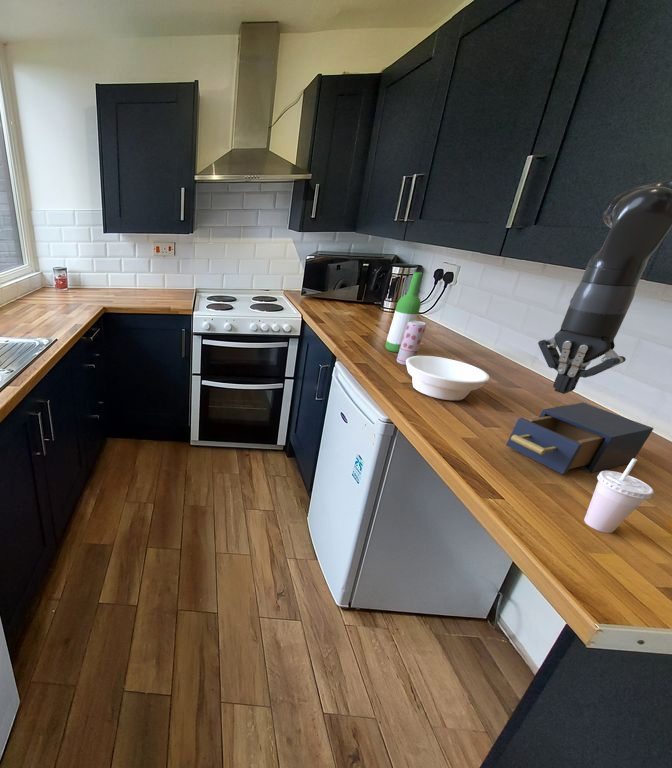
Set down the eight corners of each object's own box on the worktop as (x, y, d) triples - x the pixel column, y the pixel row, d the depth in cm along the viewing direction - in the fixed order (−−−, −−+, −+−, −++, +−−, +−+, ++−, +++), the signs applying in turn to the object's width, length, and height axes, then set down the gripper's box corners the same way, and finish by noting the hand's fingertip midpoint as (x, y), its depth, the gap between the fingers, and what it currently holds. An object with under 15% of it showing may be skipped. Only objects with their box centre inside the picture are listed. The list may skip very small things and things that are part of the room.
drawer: (547, 478, 82) (563, 448, 79) (490, 448, 92) (503, 420, 89) (603, 464, 88) (620, 436, 85) (544, 437, 97) (557, 411, 94)
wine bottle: (407, 354, 154) (432, 275, 141) (384, 351, 156) (407, 273, 144) (405, 349, 160) (429, 272, 148) (384, 345, 163) (405, 270, 151)
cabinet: (591, 473, 86) (612, 437, 82) (526, 442, 97) (543, 409, 93) (632, 462, 90) (654, 428, 87) (566, 434, 101) (583, 402, 98)
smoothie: (570, 507, 76) (607, 445, 70) (618, 522, 72) (661, 458, 66) (577, 527, 71) (617, 462, 65) (629, 544, 67) (676, 477, 62)
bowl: (389, 375, 133) (396, 352, 130) (459, 382, 130) (468, 359, 126) (412, 403, 115) (421, 377, 111) (494, 412, 111) (506, 385, 108)
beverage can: (395, 358, 149) (407, 319, 143) (413, 361, 147) (425, 321, 141) (396, 363, 144) (408, 323, 138) (414, 366, 142) (427, 325, 136)
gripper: (660, 313, 69) (615, 402, 76) (567, 297, 80) (536, 376, 88) (634, 318, 67) (591, 409, 74) (542, 302, 78) (513, 382, 85)
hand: (561, 391), depth 81 cm, fingers closed
